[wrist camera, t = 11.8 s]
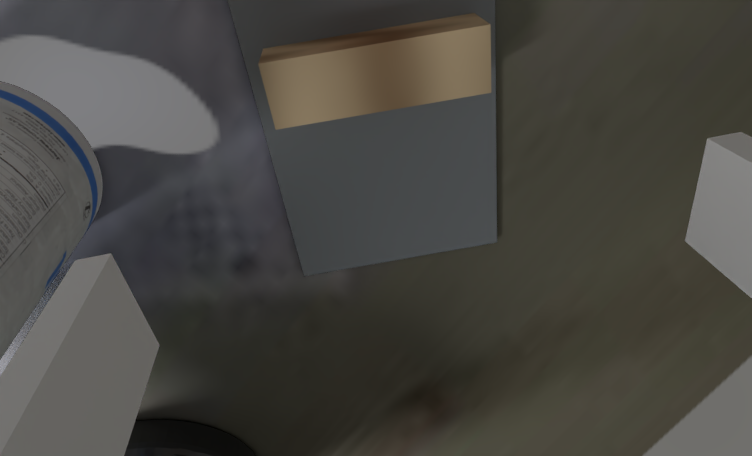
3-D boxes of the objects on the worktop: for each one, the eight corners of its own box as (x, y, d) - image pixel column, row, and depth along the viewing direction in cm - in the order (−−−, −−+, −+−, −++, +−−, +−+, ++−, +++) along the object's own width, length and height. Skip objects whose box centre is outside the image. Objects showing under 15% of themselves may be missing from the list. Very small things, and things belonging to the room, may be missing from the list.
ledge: (279, 107, 26) (275, 129, 23) (263, 46, 24) (258, 63, 22) (474, 73, 26) (491, 92, 23) (471, 11, 24) (490, 24, 22)
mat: (304, 272, 32) (304, 276, 31) (139, -327, 17) (135, -331, 17) (495, 238, 32) (497, 242, 31) (488, -382, 17) (491, -388, 17)
